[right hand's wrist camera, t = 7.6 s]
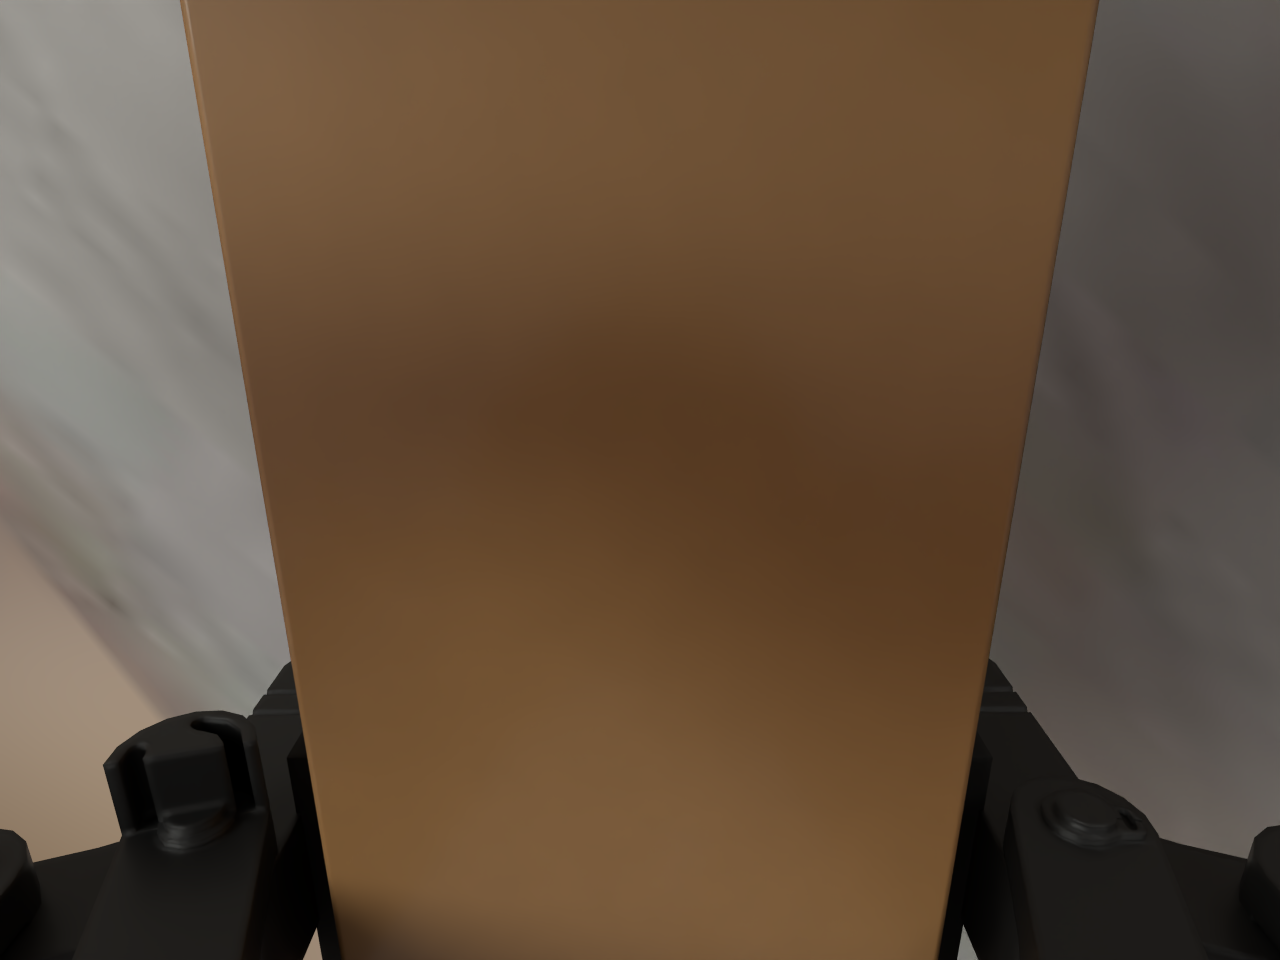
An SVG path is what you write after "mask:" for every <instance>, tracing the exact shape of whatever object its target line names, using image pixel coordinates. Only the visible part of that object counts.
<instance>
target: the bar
mask: <svg viewBox="0 0 1280 960" xmlns="http://www.w3.org/2000/svg"><path fill="white" fill-rule="evenodd" d="M180 3H181V9H182V15H183V21H184V27H185V33H186V39H187V45H188V51H189V57H190V63H191V69H192V75H193V81H194V86H195V92H196V98H197V104H198V110H199V116H200V122H201V128H202V134H203V140H204V146H205V152H206V158H207V164H208V170H209V176H210V182H211V188H212V193H213V199H214V205H215V211H216V217H217V223H218V229H219V235H220V241H221V247H222V253H223V259H224V265H225V271H226V277H227V283H228V289H229V295H230V300H231V306H232V312H233V318H234V324H235V330H236V336H237V342H238V348H239V354H240V360H241V366H242V372H243V378H244V384H245V390H246V396H247V402H248V407H249V413H250V419H251V425H252V431H253V437H254V443H255V449H256V455H257V461H258V467H259V473H260V479H261V485H262V491H263V497H264V503H265V509H266V514H267V520H268V526H269V532H270V538H271V544H272V550H273V556H274V562H275V568H276V574H277V580H278V586H279V592H280V598H281V604H282V610H283V615H284V621H285V627H286V633H287V639H288V645H289V651H290V657H291V663H292V669H293V675H294V681H295V687H296V693H297V699H298V705H299V711H300V717H301V722H302V728H303V734H304V740H305V746H306V752H307V758H308V764H309V770H310V776H311V782H312V788H313V794H314V800H315V806H316V812H317V818H318V824H319V829H320V835H321V841H322V847H323V853H324V859H325V865H326V871H327V877H328V883H329V889H330V895H331V901H332V907H333V913H334V919H335V925H336V931H337V936H338V942H339V948H340V954H341V960H938V957H939V951H940V945H941V939H942V933H943V927H944V921H945V915H946V909H947V903H948V897H949V892H950V886H951V880H952V874H953V868H954V862H955V856H956V850H957V844H958V838H959V832H960V826H961V820H962V814H963V808H964V802H965V796H966V790H967V784H968V778H969V772H970V767H971V761H972V755H973V749H974V743H975V737H976V731H977V725H978V719H979V713H980V707H981V701H982V695H983V689H984V683H985V677H986V671H987V665H988V659H989V653H990V647H991V641H992V636H993V630H994V624H995V618H996V612H997V606H998V600H999V594H1000V588H1001V582H1002V576H1003V570H1004V564H1005V558H1006V552H1007V546H1008V540H1009V534H1010V528H1011V522H1012V516H1013V510H1014V505H1015V499H1016V493H1017V487H1018V481H1019V475H1020V469H1021V463H1022V457H1023V451H1024V445H1025V439H1026V433H1027V427H1028V421H1029V415H1030V409H1031V403H1032V397H1033V391H1034V385H1035V379H1036V374H1037V368H1038V362H1039V356H1040V350H1041V344H1042V338H1043V332H1044V326H1045V320H1046V314H1047V308H1048V302H1049V296H1050V290H1051V284H1052V278H1053V272H1054V266H1055V260H1056V254H1057V248H1058V243H1059V237H1060V231H1061V225H1062V219H1063V213H1064V207H1065V201H1066V195H1067V189H1068V183H1069V177H1070V171H1071V165H1072V159H1073V153H1074V147H1075V141H1076V135H1077V129H1078V123H1079V117H1080V112H1081V106H1082V100H1083V94H1084V88H1085V82H1086V76H1087V70H1088V64H1089V58H1090V52H1091V46H1092V40H1093V34H1094V28H1095V22H1096V16H1097V10H1098V4H1099V0H180Z"/></svg>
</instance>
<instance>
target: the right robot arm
mask: <svg viewBox="0 0 1280 960" xmlns="http://www.w3.org/2000/svg"><path fill="white" fill-rule="evenodd" d="M1012 688H1013V687H1012V686H1011V684H1010V683H1009V681H1008V680H1007V679H1006V677H1005V676H1004V674H1003V673H1002V672H1001V670H1000V669H999V668H998V666H997V665H996V663H995V662H993V661H992V660H990V659H988V665H987V671H986V677H985V683H984V689H983V695H982V701H981V707H980V713H979V719H978V725H977V731H976V737H975V743H974V749H973V755H972V761H971V767H970V772H969V778H968V784H967V790H966V796H965V802H964V808H963V814H962V820H961V826H960V832H959V838H958V844H957V850H956V856H955V862H954V868H953V874H952V880H951V886H950V892H949V897H948V903H947V909H946V915H945V921H944V927H943V933H942V939H941V945H940V951H939V957H938V960H957V956H958V951H959V945H960V939H961V934H962V928H963V925H964V927H965V929H966V932H967V934H968V936H969V939H970V941H971V944H972V946H973V948H974V951H975V953H976V955H977V958H978V960H1280V825H1279V826H1271V827H1267V828H1266V829H1264V830H1263V831H1262V832H1261V833H1260V834H1258V835H1257V836H1256V837H1255V838H1254V841H1253V844H1252V847H1251V850H1250V853H1249V856H1248V859H1244V858H1240V857H1236V856H1231V855H1227V854H1222V853H1218V852H1213V851H1209V850H1205V849H1200V848H1196V847H1191V846H1187V845H1182V844H1179V843H1175V842H1172V841H1169V840H1165V839H1162V838H1159V835H1158V833H1157V832H1156V830H1155V829H1154V828H1153V826H1152V825H1151V823H1150V822H1149V820H1148V819H1147V817H1146V816H1145V815H1144V814H1143V813H1142V812H1141V811H1139V810H1138V809H1137V808H1136V807H1135V806H1133V805H1132V804H1131V803H1130V802H1128V801H1127V800H1126V799H1125V798H1123V797H1121V796H1119V795H1117V794H1115V793H1113V792H1111V791H1109V790H1107V789H1105V788H1103V787H1101V786H1099V785H1097V784H1094V783H1090V782H1087V781H1083V780H1079V779H1078V778H1077V776H1076V775H1075V773H1074V772H1073V771H1072V769H1071V768H1070V767H1069V765H1068V764H1067V762H1066V761H1065V760H1064V758H1063V757H1062V755H1061V754H1060V753H1059V751H1058V750H1057V748H1056V747H1055V746H1054V744H1053V743H1052V741H1051V740H1050V739H1049V737H1048V736H1047V734H1046V733H1045V732H1044V730H1043V729H1042V727H1041V726H1040V725H1039V723H1038V722H1037V720H1036V719H1035V718H1034V716H1033V715H1032V714H1031V712H1027V707H1026V705H1025V704H1024V702H1023V701H1022V700H1021V698H1020V697H1019V695H1018V694H1017V693H1016V692H1013V689H1012ZM103 767H104V770H105V774H106V778H107V782H108V785H109V789H110V792H111V796H112V800H113V804H114V807H115V811H116V815H117V818H118V822H119V826H120V829H121V833H122V837H121V839H120V842H116V843H113V844H110V845H106V846H103V847H100V848H95V849H91V850H87V851H82V852H78V853H73V854H69V855H65V856H60V857H56V858H51V859H47V860H43V861H38V862H34V863H33V862H32V859H31V856H30V852H29V849H28V846H27V843H26V841H25V840H24V839H22V838H21V837H20V836H19V835H18V834H16V833H15V832H14V831H11V830H4V829H0V960H303V958H304V956H305V953H306V951H307V949H308V946H309V944H310V942H311V939H312V937H313V935H314V932H315V930H316V928H317V931H318V937H319V942H320V948H321V954H322V959H323V960H341V954H340V948H339V942H338V936H337V931H336V925H335V919H334V913H333V907H332V901H331V895H330V889H329V883H328V877H327V871H326V865H325V859H324V853H323V847H322V841H321V835H320V829H319V824H318V818H317V812H316V806H315V800H314V794H313V788H312V782H311V776H310V770H309V764H308V758H307V752H306V746H305V740H304V734H303V728H302V722H301V717H300V711H299V705H298V699H297V693H296V687H295V681H294V675H293V669H292V663H291V662H289V663H288V664H286V665H285V666H284V667H283V669H282V670H281V671H280V673H279V674H278V676H277V677H276V678H275V680H274V681H273V683H272V684H271V685H270V687H269V688H268V690H267V695H263V697H262V698H261V699H260V701H259V702H258V704H257V705H256V707H255V708H254V709H253V715H249V716H248V718H247V719H246V718H245V717H244V716H243V715H239V714H235V713H230V712H226V711H201V712H193V713H189V714H185V715H181V716H176V717H172V718H168V719H166V720H163V721H161V722H159V723H157V724H154V725H152V726H150V727H148V728H145V729H143V730H141V731H139V732H138V733H136V734H135V735H133V736H132V737H131V738H129V739H128V740H126V741H125V742H123V743H122V744H121V745H119V746H118V747H117V748H116V749H115V750H114V752H113V753H112V754H111V755H110V757H109V758H108V759H107V760H106V762H105V763H104V764H103Z"/></svg>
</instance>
